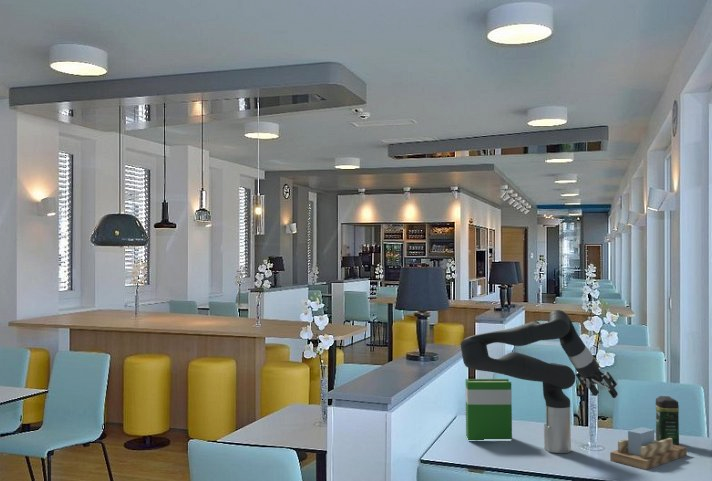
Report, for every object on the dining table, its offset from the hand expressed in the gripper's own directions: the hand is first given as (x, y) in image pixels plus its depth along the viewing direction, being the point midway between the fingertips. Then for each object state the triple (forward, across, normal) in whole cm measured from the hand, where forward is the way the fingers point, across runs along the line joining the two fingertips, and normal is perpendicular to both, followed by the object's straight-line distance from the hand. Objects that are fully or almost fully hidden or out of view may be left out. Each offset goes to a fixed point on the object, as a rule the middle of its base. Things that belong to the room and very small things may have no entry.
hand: (606, 395), depth 247 cm
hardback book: (+11, -54, -21) cm, 60 cm away
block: (+30, -4, +2) cm, 30 cm away
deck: (+35, -5, +4) cm, 36 cm away
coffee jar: (+48, -14, +22) cm, 55 cm away
